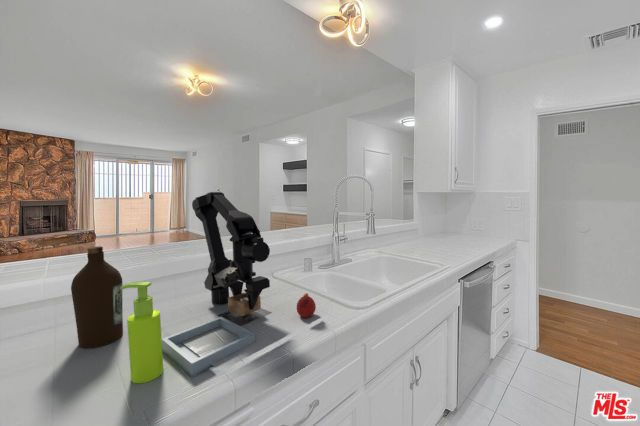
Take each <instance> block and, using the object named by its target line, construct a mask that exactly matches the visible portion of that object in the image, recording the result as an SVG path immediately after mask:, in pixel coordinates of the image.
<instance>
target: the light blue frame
mask: <svg viewBox="0 0 640 426" xmlns="http://www.w3.org/2000/svg"><path fill="white" fill-rule="evenodd" d="M217 327H222V328H224V329H225V330H227V331H229V332H231V333H232V334H235V335H236V336H238V337H240V338H237V339H235V340H234V341H231V342H229V343H227V344H225V345H223V346H221V347H218V348H217V349H215V350H212V351H210V352H208V353H205V354H203V355H202V356H200V355H199V354H198V353H196V352H195V351H194V350H192V349H191V348H190V347H188V346H187V345H185V344H184V343H183V342H184V341H186V340H187V339H191V338H193V337H196V336H198V335H201V334H203V333H206V332H207V331H211V330H212V329H215V328H217ZM255 342H256V334H255V333H254V332H252V331H251V330H248V329H247V328H244V327H243V326H239V325H237V324H235V323H233V322H231V321H229V320H227V319H225V318H223V317H219V316H218V317H217V318H213V319H211V320H209V321H206V322H203V323H200V324H197V325H195V326H192V327H189V328H187V329H185V330H182V331H179V332H176V333H174V334H171V335H168V336H167V337H164V338H162V353H164V354H165V355H166V356H168V357H169V358H170V359H171V360H172V361H173V362H174V363H176V364H177V365H178V366H179V367H180V368H181V369H183V370H184V371H185V372H186V374H188V375H189V376H190V377H191V378H194V377H196V376H198V375H200V374H202V373H204V372H206V371H208V370H209V369H211V368H214V367H215V366H214V365H213V364H214V363H216V362H217V361H219V360H221V359H223V358H225V357H227V356H230V355H231V354H233V353H235V352H237V351H240V350H241V349H243V348H245V347H247V346H250V345H251V344H253V343H255Z"/></svg>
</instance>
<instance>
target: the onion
mask: <svg viewBox="0 0 640 426" xmlns="http://www.w3.org/2000/svg"><path fill="white" fill-rule="evenodd" d="M296 312H297V314H298V315H299V316H300V317H301V318H304V319H306V318H307V319H308V318H311V317H312V315H314V314H315V312H316V302H315V301H314V299H313V297H311V296H309V293H308V292H305V293H304V294H303V296H301V297H300V298H299V300H298V301H297V303H296Z"/></svg>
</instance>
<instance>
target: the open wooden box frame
mask: <svg viewBox="0 0 640 426" xmlns="http://www.w3.org/2000/svg"><path fill="white" fill-rule="evenodd" d="M242 297H248V294H247V293H246V292H245V291H244V292H242V293H241V294H238V295H235V296H233V295H232V296H229V298H228V303H227V306H228V307H227V308H228V309H227V310H228V311H231V312H233V313H235V314H237V315H240V316H244V315H246V314H249V313H251V312H254V311H256V310H259V309H261V308H262V306H261V304H262V303H261V301H262V300H261V296H260V295H259V297H258V300H257V302H256V304H255V306H254V309H252V310H250V307H249V301H248V299H247V300H244V301H240V298H242Z"/></svg>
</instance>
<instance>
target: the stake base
mask: <svg viewBox="0 0 640 426" xmlns="http://www.w3.org/2000/svg"><path fill="white" fill-rule="evenodd" d="M247 299H248V297H242V298H240V301H244V300H247ZM270 314H273V312H271V311H269V310H267V309H264V308H262V307H261V309H259V310H256V311H254V312H251V313H249V314H246V315H244V316H240V315H237V314H235V313H233V312H231V311H229V310H228V311H225V312H222V313H219V314H216V316H217V317H218V318H219V317H223V318H225V319H227V320H229V321H231V322H233V323H235V324H237V325H239V326H241V327H243V326H245V325H248V324H249V323H252V322H255V321H257V320H259V319H261V318H263V317H266V316H268V315H270Z"/></svg>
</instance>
